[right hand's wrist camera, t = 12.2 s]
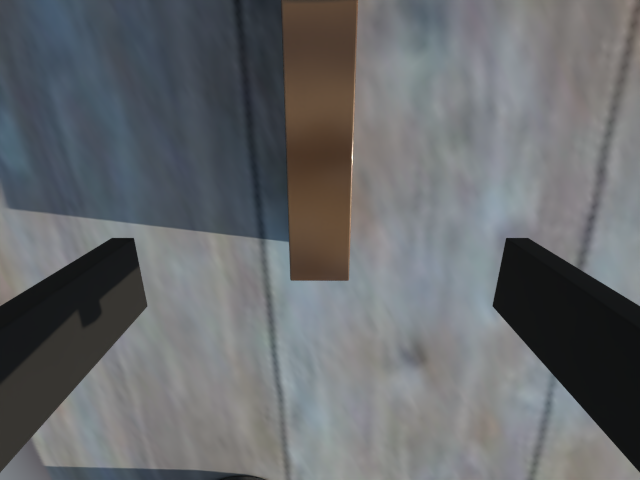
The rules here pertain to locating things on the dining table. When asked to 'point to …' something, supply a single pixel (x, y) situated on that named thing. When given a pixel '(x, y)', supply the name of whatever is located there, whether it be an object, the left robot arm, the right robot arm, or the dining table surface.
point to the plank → (319, 133)
